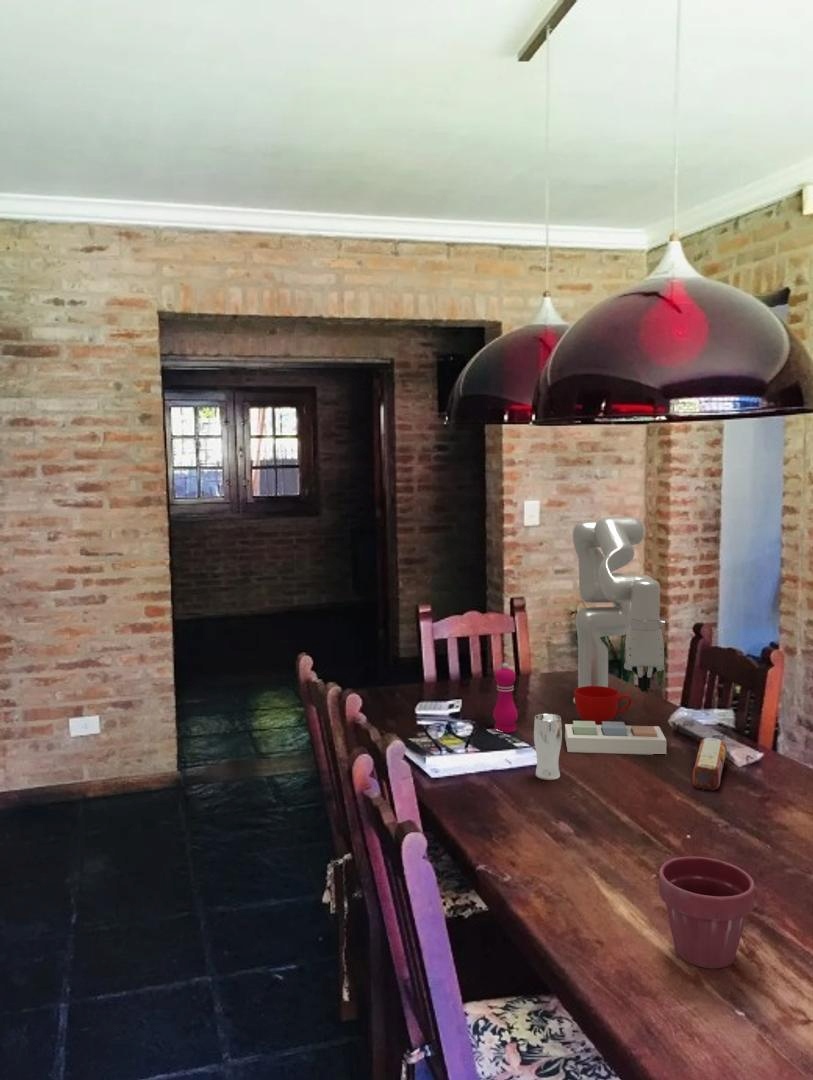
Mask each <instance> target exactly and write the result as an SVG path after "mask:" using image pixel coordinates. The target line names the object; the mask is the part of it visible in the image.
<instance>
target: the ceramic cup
mask: <svg viewBox="0 0 813 1080" xmlns="http://www.w3.org/2000/svg"><path fill="white" fill-rule="evenodd" d="M573 695H574V697H575V703H574V705H575V709H576V712H577V714H578V716H579V718H580V719H581V721H595V724H596V725H602V721H607V722H612V720H613V719H614V718H615V716H616V715H617V714H620V713H622V712H623V713H624V712H625V711H626V710H628V709H629V708H630V707H631V706H632V697H631V696H630V695H628V694H621V695H620V693H619V691H618V690H617V689H615V688H611V687H609V686H608V687H602V686H584V687H580V688H578V687H577V688H575V689H574V694H573ZM623 698H627V699H628V703H627V704H626V706H624V707H623V708H620V709H618V705H619V703H620V701H621V700H622V699H623Z"/></svg>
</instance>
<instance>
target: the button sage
mask: <svg viewBox="0 0 813 1080" xmlns="http://www.w3.org/2000/svg"><path fill="white" fill-rule="evenodd" d="M572 724H573V732H574V735H597V727H596V724H595V721H583V720H572Z"/></svg>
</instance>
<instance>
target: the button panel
mask: <svg viewBox="0 0 813 1080" xmlns="http://www.w3.org/2000/svg"><path fill="white" fill-rule="evenodd" d="M625 726H626V728H627V736H604V735H603V732H602V725H596V727H597V735H574V732H573V723H572V724H571V723H564V739H565V743H566V744H565V746H566V750H567V752H568V753H585V754H586V753H589V754H621V755H622V754H624V755H625V754H626V755H627V754H628V755H653V754H666V755H667V739H666V737H665V735H664V733H663V731H662V729H661V727H660V726H659V725H658V726H657V725H655V726H653V725H652V726H653V727H654V728H655V730H656V732H657V737H642V736H633V735H632V732H631V726H632V725H625Z"/></svg>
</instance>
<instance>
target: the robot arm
mask: <svg viewBox="0 0 813 1080" xmlns="http://www.w3.org/2000/svg"><path fill="white" fill-rule="evenodd" d="M644 537H645V529H644V525H643V523H642V521H641V520H640V519H639V518H637V516H636V517H635V516H609V517H602V518H600V519H599V520H585V521H581V522H579V523H577V524H575V525H574V527H573V530H572V542H573V543H572V544H573V546H574V550H575V553H576V555H577V560H578V587H579V596H580V599H581V600H582V601H583V602H584V603H589V604H597V603H598V604H599V603H600V604H601V603H602V604H603V603H607V604H608V603H612V606H588V607H584V608H581V609H579V610H578V611H577V612H576V614H575V619H574V622H575V629H576V634H577V653H578V654H577V658H578V661H577V670H578V672H577V674H578V675H577V682H578V683H577V685H578V686H577V688H580V687H584V686H602V687H609V650H608V647H607V645H606V644H605V643H604V642H603V641H602V639H601V638H603V637H618V636H625V635H626V636H625V643H624V644H625V646H624V665H623V667H624V670H627V671H632V672H633V673H634V674H635V675H636V676H637V687H638V689H640V691H641V693H643V692H645V693H648V691H649V689H650V688H651V678H652V676H653V675H654V674H655V673H656V672H661V671H664V670H665V647H664V645H665V644H664V635H663V631H662V627H665V626H666V621H665V620H661V618H660V610H661V609H660V608H661V607H660V605H661V603H660V602H661V601H660V600H661V598H660V597H661V585H660V583H659V581H657V580H655V579H653V578H652V577H651V576H650V575H647V574H623V573H619V572H615V571H618V570H619V569H621V568H623V567H625V566H627V565H628V564H629V563H630V562H631V561H632V560H633V559H634V557H635V549H634V547H633V546H635V545H638V544H640V543H642V541H643V539H644ZM599 548H600V549H599ZM643 667H644V668H645V673H644V674H643ZM572 702H573V704H575V696H574V697H573V699H572Z"/></svg>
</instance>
